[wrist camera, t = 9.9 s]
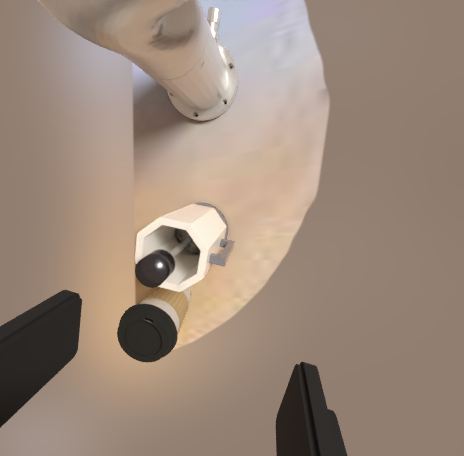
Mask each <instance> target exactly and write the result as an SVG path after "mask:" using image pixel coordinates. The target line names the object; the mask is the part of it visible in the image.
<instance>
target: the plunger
mask: <svg viewBox="0 0 464 456" xmlns="http://www.w3.org/2000/svg"><path fill="white" fill-rule="evenodd" d="M176 236H177V240H178V242H179V245H177V246H176V247H175V248H174V249H172V250H171V251H170V252H167V251H165V250H162V249H158V250H155V251H153V252H151V253H150V254H148V255H147V256H145V257H144V258H142V259H141V260H140V261H139V262H138V263H137V265H136V268H135V273H136V277H137V279H138V280H139V281H140V282H141V283H142V284H143V285H145V286H147V287H152V288H153V287H158V286H160V285H161V284H162V283H163V282H164V281H165V280H166V279H167V278H168V277H169V276H170V275H171V274H172V273H173V271H174V269H175V260H174V257H175V256H176V255H177V254H178V253H180V252H181V251H182V250H183V249H185V250H186V251H188V252H190V253H194V254H199V253H200V252H201V251H200V249H199V248H198V246H197V245H196V243H195V242H194V241H193V239H192V238H191V236H190V235H189V234H188V232H187V231H186V230H183V229H179V228H177V230H176Z"/></svg>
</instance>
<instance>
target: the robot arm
mask: <svg viewBox="0 0 464 456" xmlns="http://www.w3.org/2000/svg"><path fill="white" fill-rule="evenodd" d="M37 1H38V2H39V3H40V4H41V5H42V6H43V7H44V8H45V9H46V10H47V11H48V12H49V13H50V14H51V15H52V16H53V17H55V18H56V19H57V20H58V21H59V22H61V23H62V24H63V25H65V26H66V27H67V28H69V29H70V30H72V31H73V32H75V33H76V34H78V35H80V36H81V37H83V38H84V39H86V40H88V41H90V42H92V43H94V44H96V45H99V46H101V47H104V48H106V49H109V50H111V51H114V52H116V53H119V54H121V55H122V56H124V57H126V58H127V59H129V60H130V61H132V62H133V63H134V64H135V65H137V66H138V67H139V68H141V69H142V70H143V71H144V72H145V73H146V74H148V75H149V76H150V77H151V78H153V79H154V80H155V81H156V82H158V83H159V84H160V85H161V86H162V87H164V88H165V89H166V90H167V93H168V96H169V98H170V100H171V102H172V104H173V105H174V107H175V108H176V109H177V110H178V111H179V112H180V113H181V114H183V115H184V116H186V117H188V118H190V119H193V120H197V121H207V120H211V119H214V118H216V117H218V116H220V115H221V114H223V113H224V112H225V111H226V110H227V109H228V108H229V106H230V105H231V103H232V102H233V99H234V97H235V95H236V91H237V87H238V73H237V68H236V65H235V62H234V59H233V58H232V56H231V54H230V52H229V51H228V50H227V49H226V48H225V47H224V46H223V45H221V44H220V43H219V42H218V40H219V35H218V34H217V30H218V26H219V22H220V15H221V12H220V10H219V9H217V8H214V7H210V8H209V9H208V17H207V18H206V16H205V13H204V11H203V8H202V6H201V3H200V1H199V0H37ZM231 67H233V68H232V69H230V68H231ZM225 102H227V104H226V105H225V104H224V103H225ZM197 114H198V117H196V115H197ZM81 305H82V299H81V298H80V296H79V294H77V293H74V292H71V291H68V290H63V291H61V292H59V293H57V294H56V295H54V296H52V297H50V298H49V299H47V300H45V301H43V302H42V303H40V304H38V305H37V306H35V307H33V308H31V309H30V310H28V311H26V312H25V313H23V314H21V315H19V316H18V317H16V318H14V319H12V320H11V321H9V322H7V323H5V324H4V325H2V326H0V427H1V426H2V425H3V424H4V423H6V422H7V421H8V420H9V419H10V418H11V417H12V416H13V415H14V414H15V413H16V412H17V411H18V410H19V409H20V408H21V407H22V406H23V405H24V404H25V403H27V401H29V400H30V399H31V398H32V397H33V396H34V395H35V394H36V393H37V392H38V391H39V390H40V389H41V388H42V387H43V386H44V385H45V384H46V383H47V382H48V381H50V380H51V379H52V378H53V377H54V376H55V375H56V374H57V373H58V372H59V371H60V370H61V369H62V368H63V367H64V366H65V365H66V364H67V363H68V362H69V361H71V359H73V357H74V356H75V354H76V352H77V349H78V340H79V328H80V317H81ZM276 446H277V456H347V453H346V450H345V446H344V442H343V439H342V435H341V431H340V428H339V425H338V421H337V417H336V415H335V413H334V411H332V410H329V409H327V405H326V401H325V397H324V393H323V389H322V385H321V381H320V377H319V373H318V369H317V367H316V366H315V365H311V364H308V363H305V362H301V363H300V365H298V364H296V365H295V367H294V370H293V372H292V375H291V378H290V381H289V383H288V386H287V389H286V392H285V395H284V397H283V400H282V403H281V406H280V408H279V411H278V414H277V419H276Z"/></svg>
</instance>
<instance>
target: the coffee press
mask: <svg viewBox="0 0 464 456" xmlns="http://www.w3.org/2000/svg"><path fill="white" fill-rule="evenodd" d="M177 228H179V229H183V230H186V231H187V232H188V234H189V235H190V236H191V238H192V239H193V241H194V242H195V243H196V245H197V246H198V248H199V249H200V251H201V252H200V253H199V254H194V253H190V252H188V251H186V250H185V249H183V250H182V251H181V252H180V253H178V254H177V255H176V256H175V257H174V260H175V269H174V271H173V273H172V274H171V275H170V276H169V277H168V278H167V279H166V280H165V281H164V282H163V283H162V284H161V285H160V286H158V287H161V288H165V289H169V290H173V291H177V292H181V291H183V290H185V289H186V288H188V287H190V286H191V285H193V284H195V283H196V282H198V281H200V280H201V279H203V278H204V276H205V275H206V273H207V271H208V270H209V268H210V267H211V265H212V264H216V265H220V266H225V264H226V262H227V260H228V258H229V256H230V254H231V252H232V250H233V247H234V242H235V241H230V240H226V239H227V235H228V226H227V222H226V219H225V217H224V216H223V214H222V213H221V212H220V211H219V210H218V209H217V208H216V207H214V206H212V205H210V204H206V203H194V204H191V205H189V206H186V207H184V208H181V209H179V210H176V211H174V212H171V213H169V214H166V215H164V216H161V217H159V218H158V219H157V220H155V221H154V222H152V223H151V224H150V225H148V226H147V227H145V228H144V229H143V230H141V231H140V232H138V234H137V241H136V252H135V263H136V264H137V263H138V262H139V261H140V260H141V259H142V258H144V257H145V256H147V255H148V254H150V253H151V252H153V251H155V250H158V249H162V250H165V251H167V252H170V251H171V250H172V249H174V248H175V247H176V246H177V245H179V242H178V240H177V236H176V230H177ZM222 247H224V250H223V251H222V253H221V255H219V252H220V250H221V249H222Z"/></svg>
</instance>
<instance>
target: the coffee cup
mask: <svg viewBox="0 0 464 456" xmlns="http://www.w3.org/2000/svg"><path fill="white" fill-rule="evenodd" d="M190 299H191V291H190V288H189V287H188V288H186V289H185V290H183V291H181V292H177V291H173V290H169V289H165V288H161V287H160V288H159V289H157V290H156V291H154V292H153V293H152V294H150V295H149V296H148V297H146V298H145V299H143V300H142V301H141V302H140V303H138V304H137V305H134V306H132V307H130V308H129V309H128V310H126V311H125V313H124V314H123V316H122V317H121V320H120V323H119V327H118V332H117V334H118V341H119V343H120V345H121V347H122V348H123V350H124V351H125V352H126V353H127V354H128V355H129V356H130V357H132V358H134V359H136V360H138V361H142V362H154V361H157V360H159V359H160V358H161V357H164V356H166V355H167V354H168V353H169V352H171V350H172V349H173V348H174V346H175V344H176V342H177V334H178V332H179V330H180V328H181V325H182V322H183V320H184V317H185V314H186V312H187V309H188V304H189V301H190Z"/></svg>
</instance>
